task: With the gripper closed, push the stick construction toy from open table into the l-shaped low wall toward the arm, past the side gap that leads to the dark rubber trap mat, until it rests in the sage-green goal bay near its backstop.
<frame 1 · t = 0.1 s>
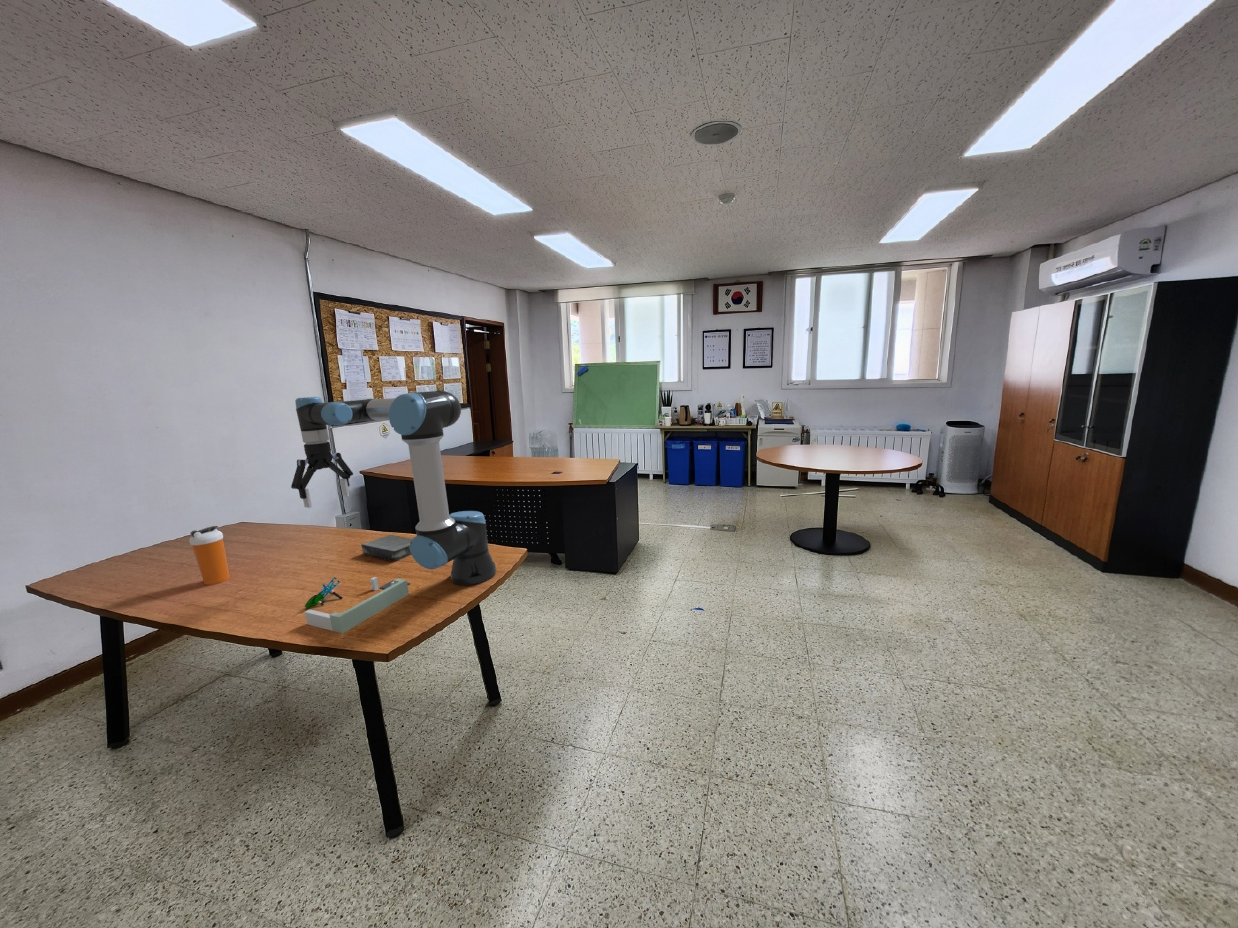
hand: (328, 501, 155), 28 cm above the table, fingers open, 13 cm apart
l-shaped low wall: (356, 607, 137), on the table
stick construction toy: (327, 602, 142), on the table
trap mat: (395, 585, 150), on the table
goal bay: (373, 611, 134), on the table
stone block: (393, 553, 180), on the table
shaker bottle: (217, 581, 162), on the table
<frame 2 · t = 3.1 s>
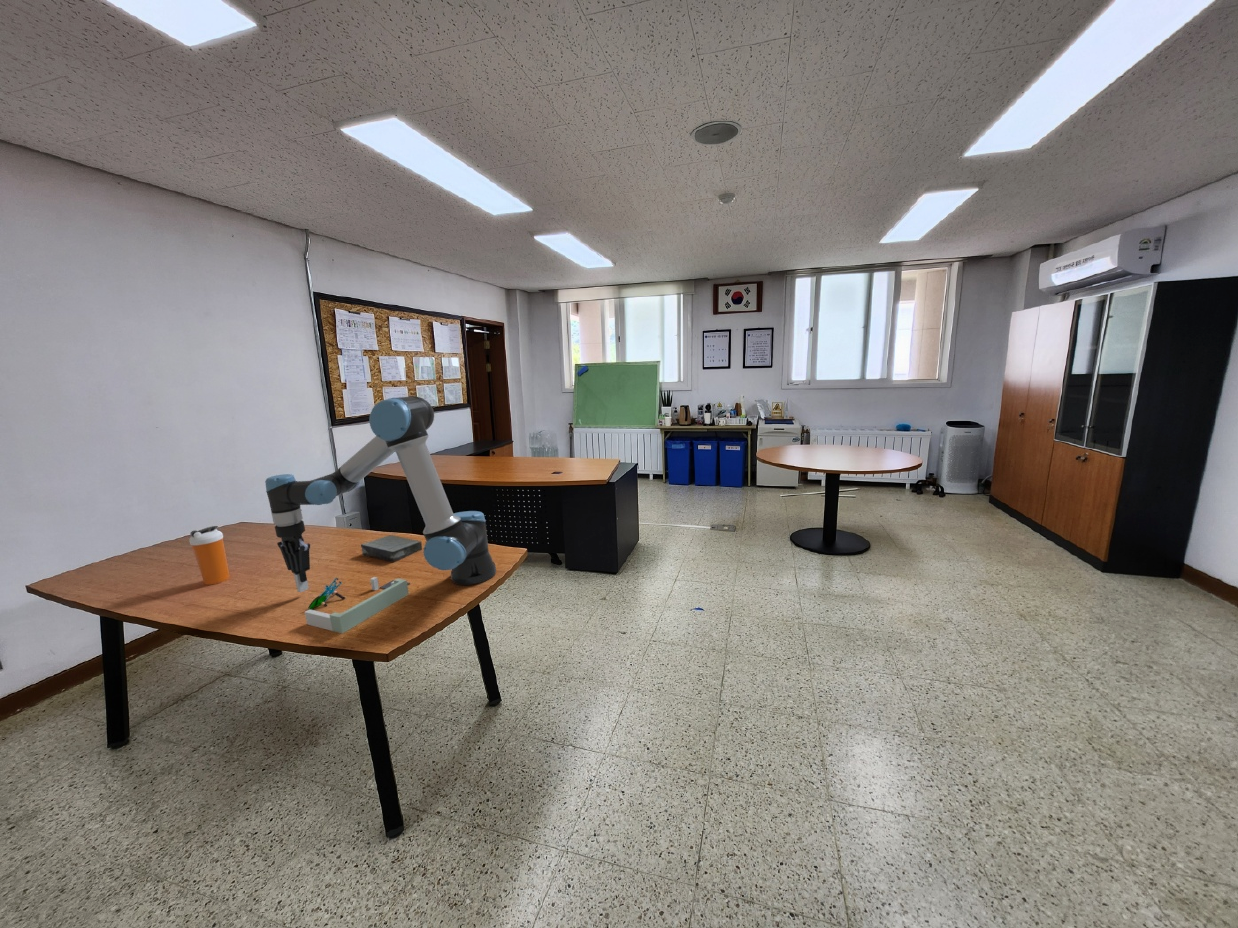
hand: (303, 590, 145), 2 cm above the table, fingers closed
stick construction toy: (330, 603, 141), on the table
everything else where it was.
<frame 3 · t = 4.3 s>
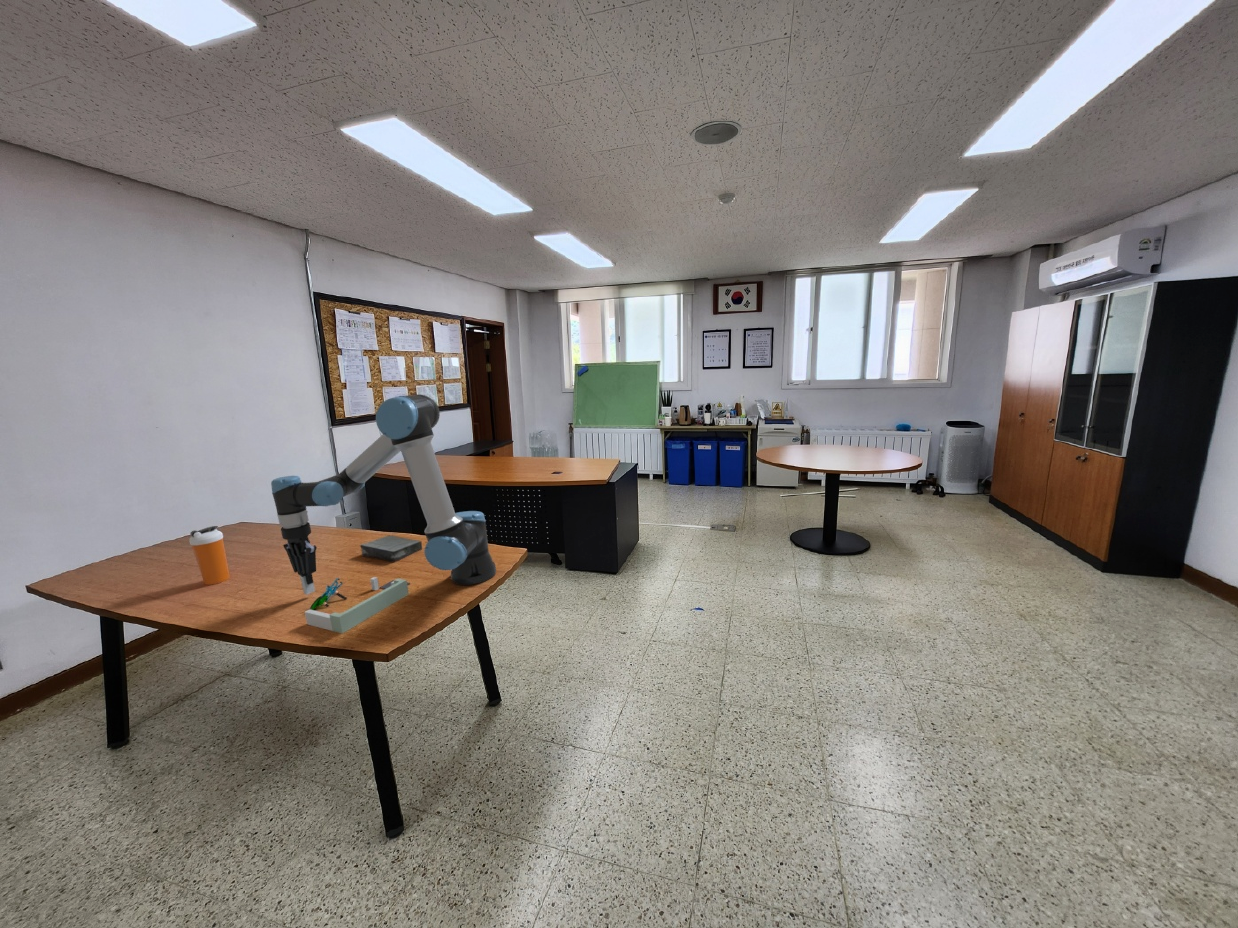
hand: (309, 592, 145), 2 cm above the table, fingers closed
nothing on the table moved.
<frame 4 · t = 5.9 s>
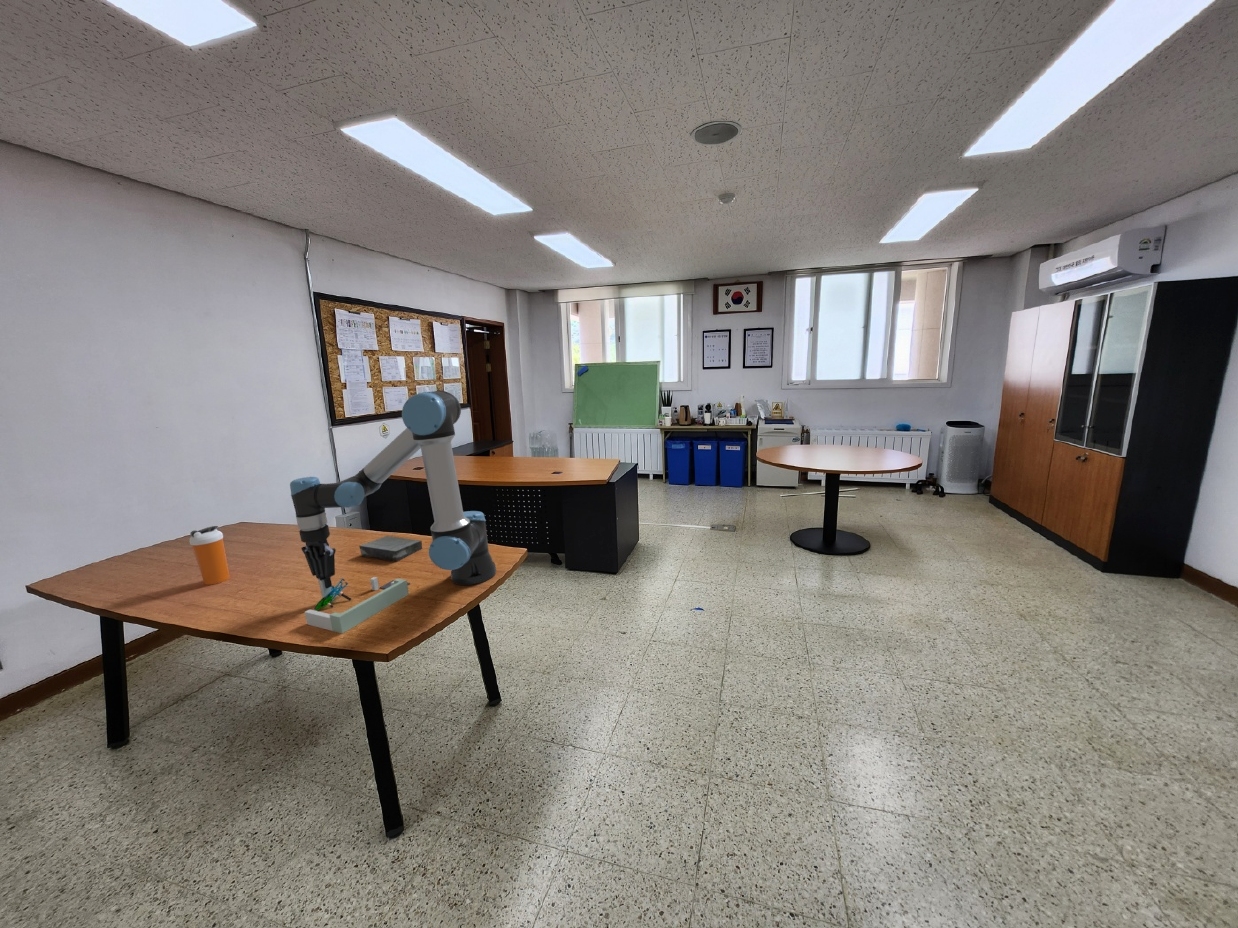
hand: (328, 596, 141), 2 cm above the table, fingers closed
stick construction toy: (336, 604, 140), on the table, touching gripper
everything else where it was.
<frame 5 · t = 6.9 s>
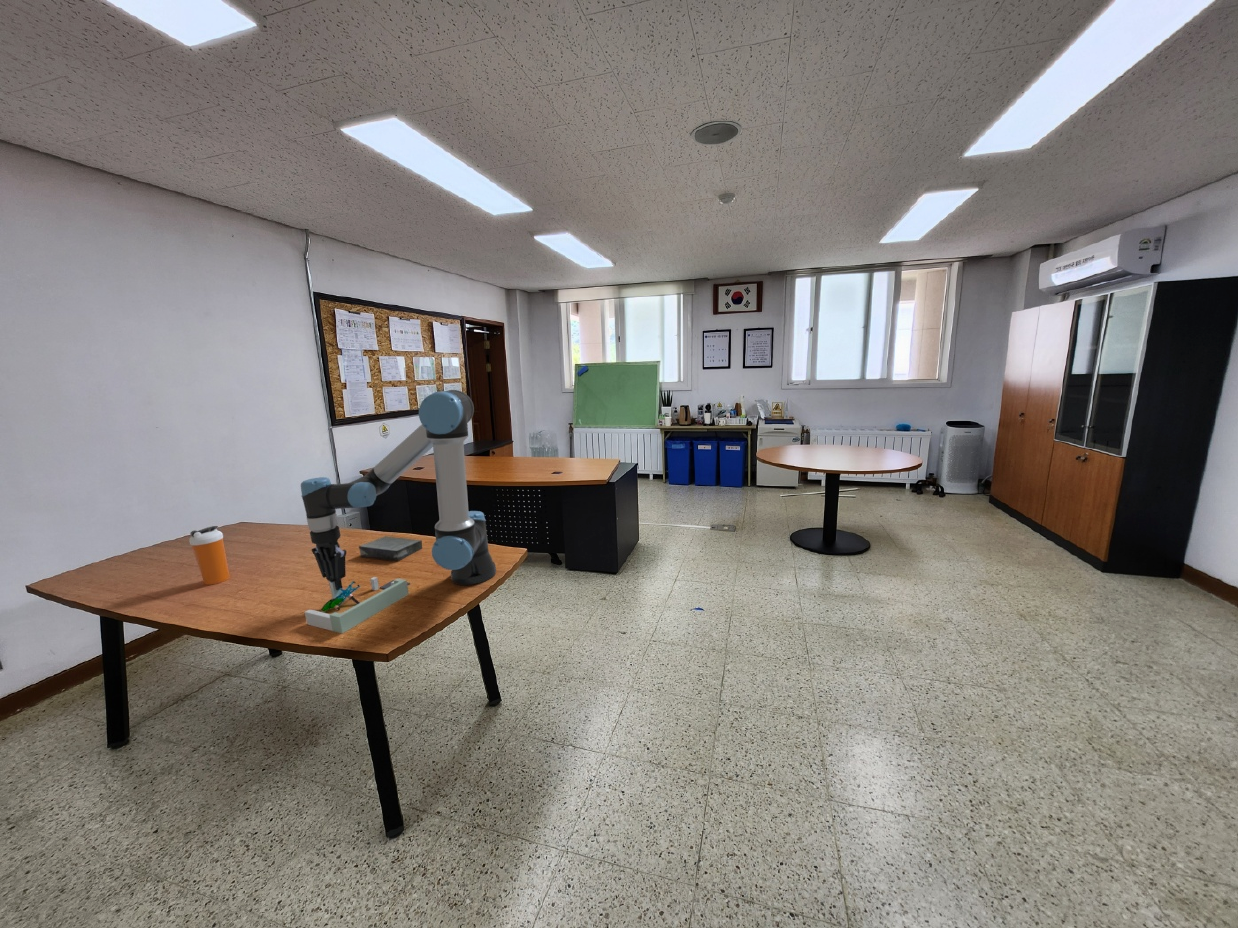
hand: (338, 598, 139), 2 cm above the table, fingers closed
stick construction toy: (345, 606, 138), on the table
everything else where it was.
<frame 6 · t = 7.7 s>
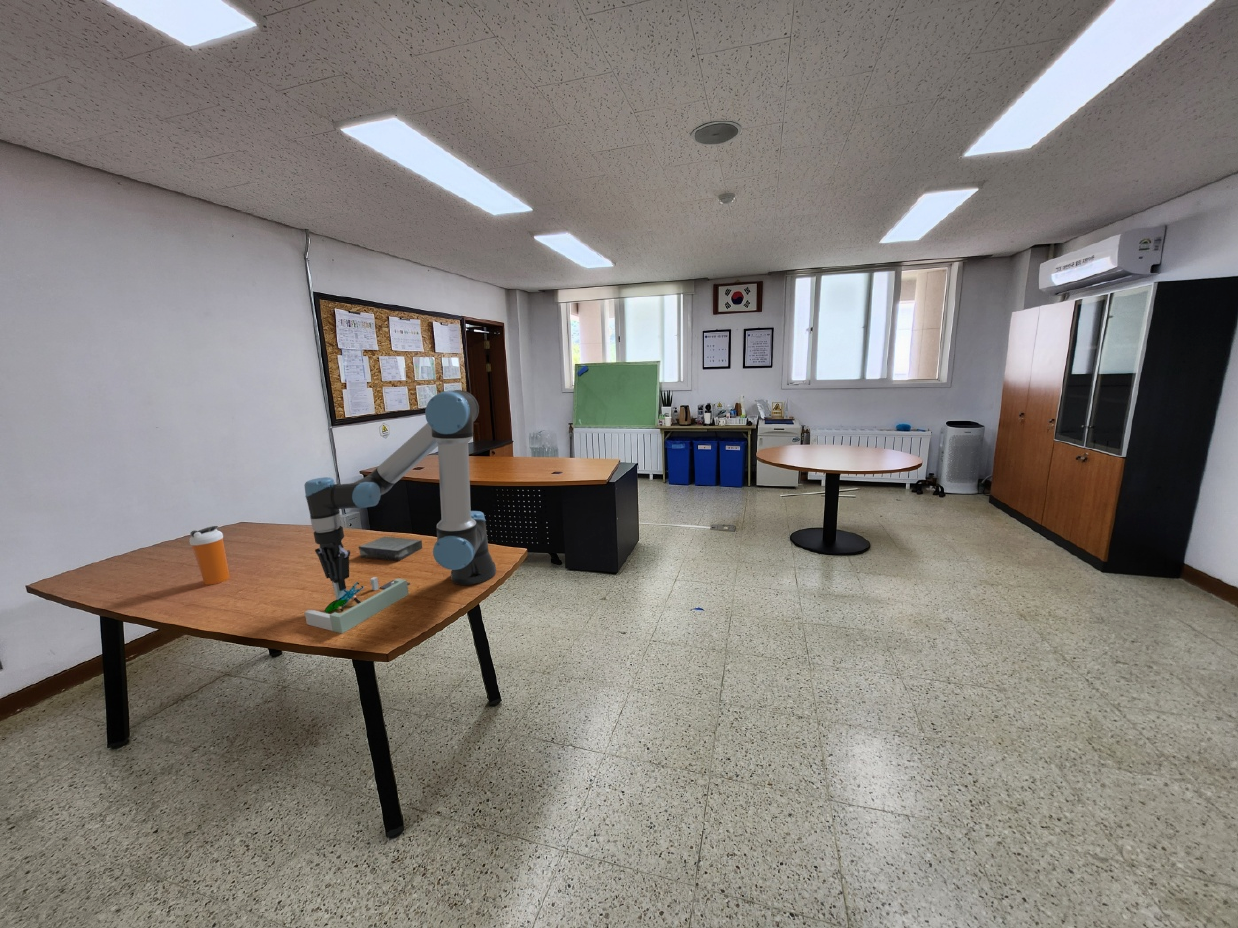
hand: (341, 598, 139), 2 cm above the table, fingers closed
stick construction toy: (348, 607, 137), on the table
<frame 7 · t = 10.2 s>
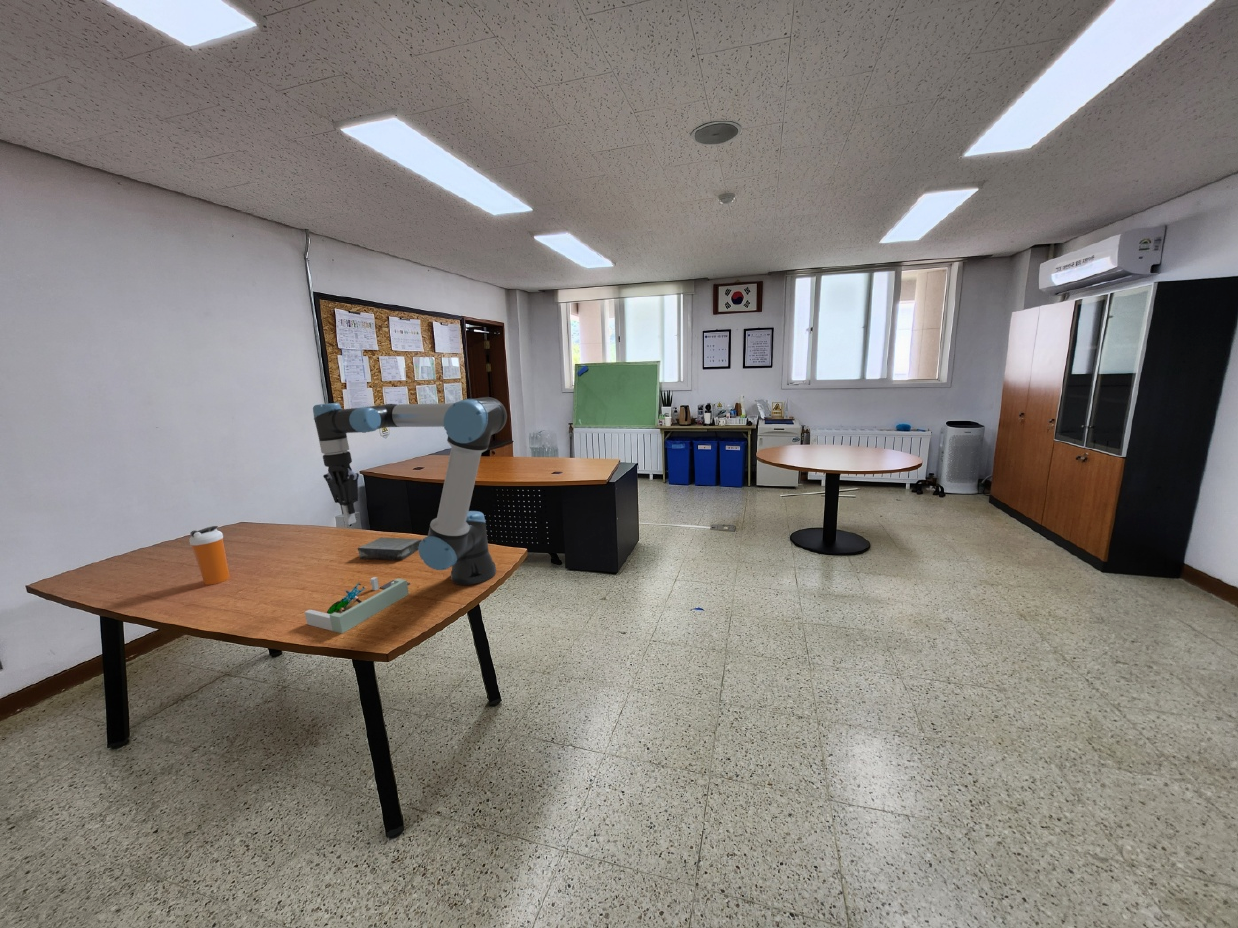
hand: (351, 523, 144), 24 cm above the table, fingers closed
stick construction toy: (350, 608, 137), on the table
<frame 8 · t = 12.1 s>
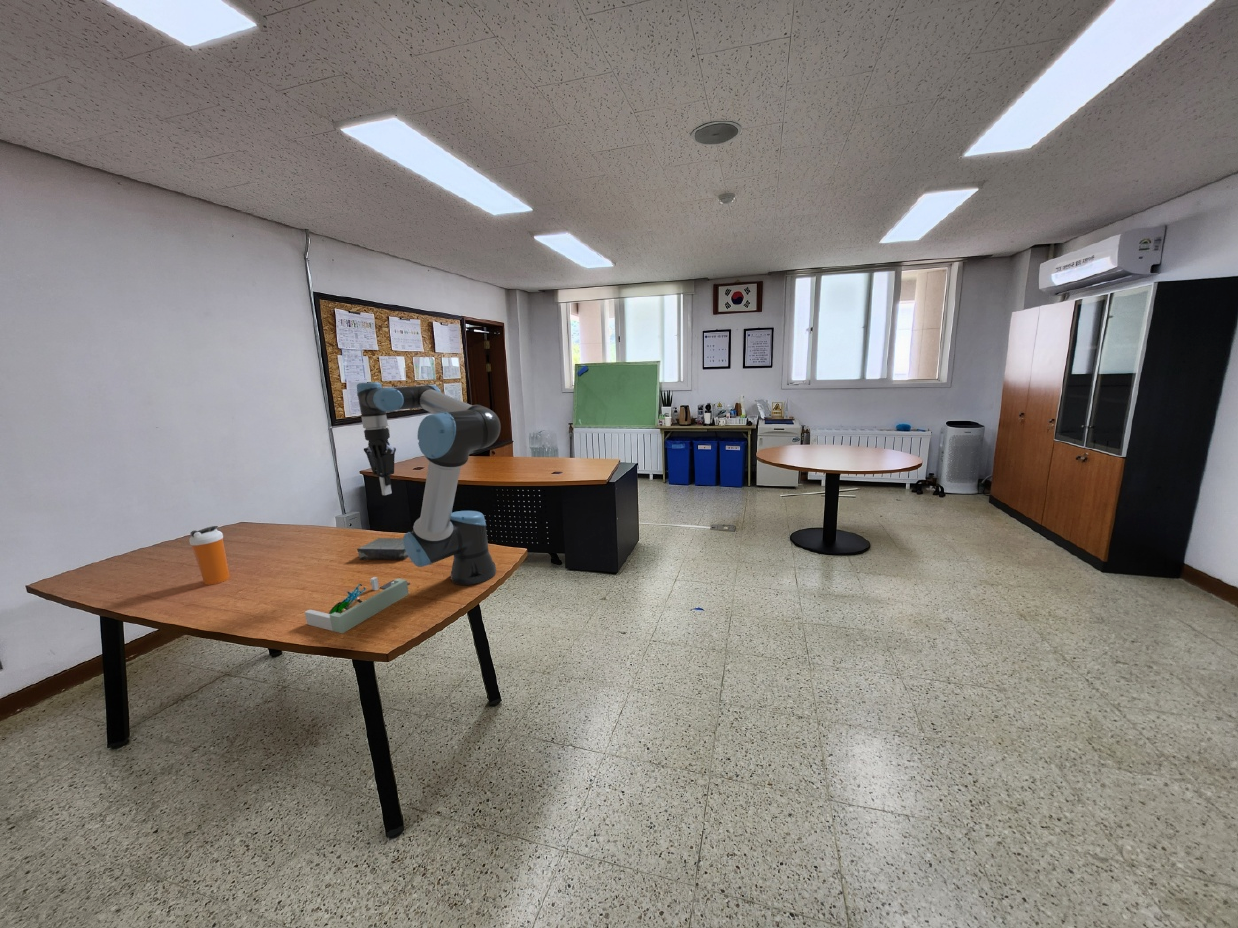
hand: (387, 494, 156), 29 cm above the table, fingers closed
stick construction toy: (352, 609, 136), on the table
at the end: stick construction toy inside the target area (1.1 cm from its centre), on the table; stick construction toy moved 13.1 cm from its start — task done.
